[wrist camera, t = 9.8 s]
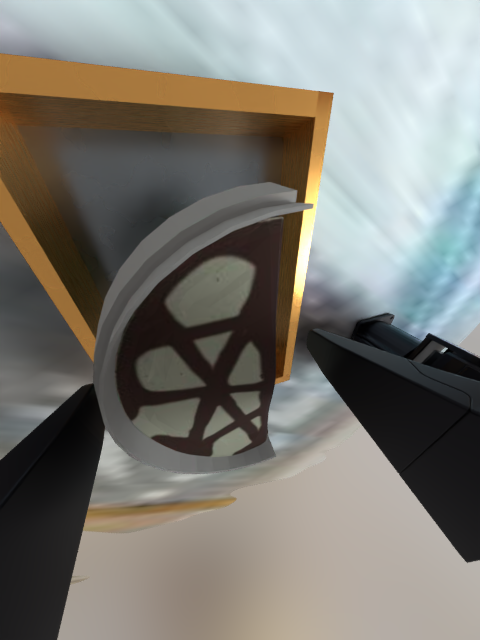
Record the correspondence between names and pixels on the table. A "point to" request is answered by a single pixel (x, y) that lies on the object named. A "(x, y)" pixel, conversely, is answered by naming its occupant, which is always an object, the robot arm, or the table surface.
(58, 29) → the table surface
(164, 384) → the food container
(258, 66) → the table surface
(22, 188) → the wooden tray
